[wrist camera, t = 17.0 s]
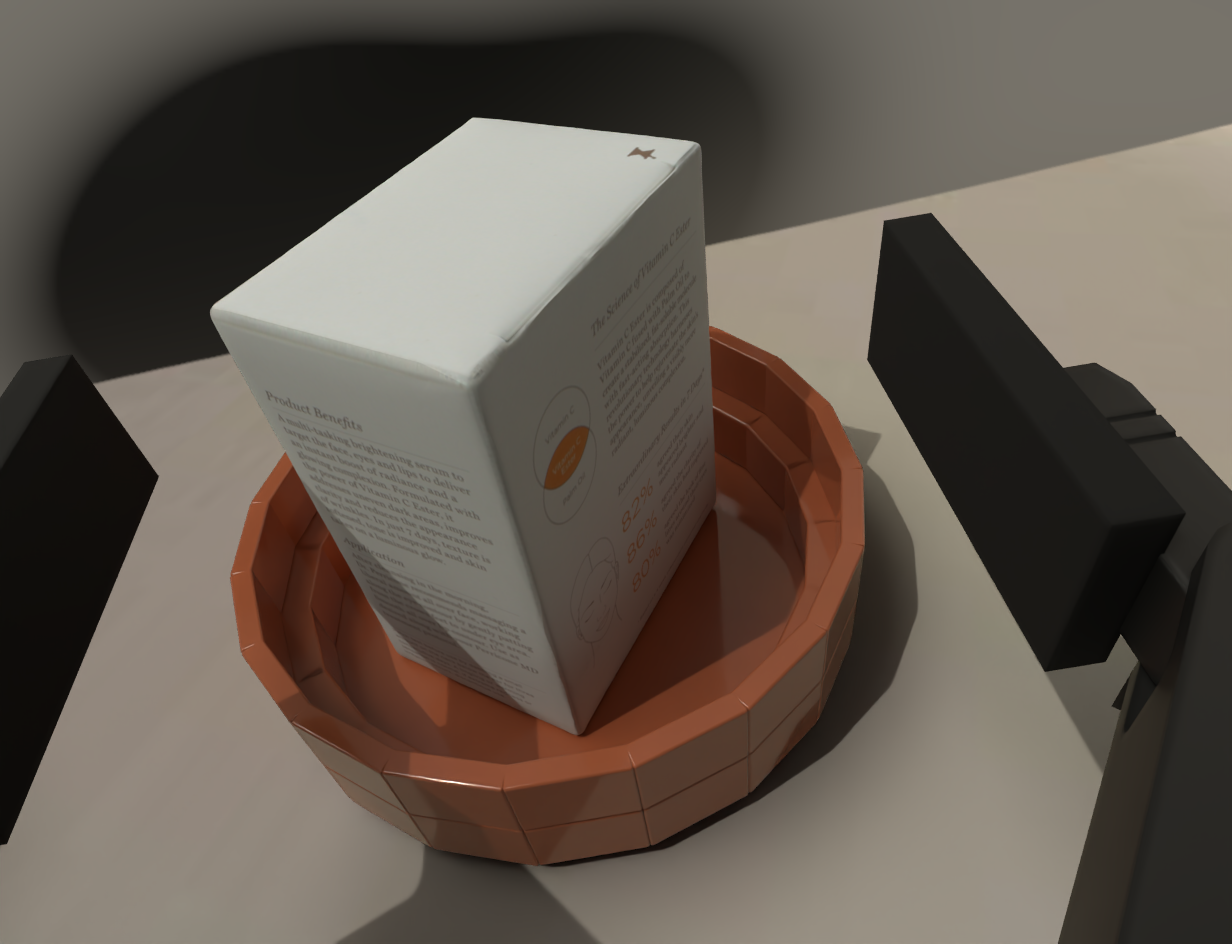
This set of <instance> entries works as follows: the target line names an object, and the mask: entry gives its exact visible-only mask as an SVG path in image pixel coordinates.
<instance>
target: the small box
mask: <svg viewBox="0 0 1232 944" xmlns="http://www.w3.org/2000/svg"><path fill="white" fill-rule="evenodd" d="M701 161H702V154H701V147H700V145H699V144H698V143H695V142H692V141H684V140H676V139H668V138H658V137H652V136H643V135H633V134H625V133H616V132H605V131H595V130H587V129H578V128H570V127H558V126H550V125H541V124H532V123H524V122H515V121H506V120H497V119H483V118H472V119H470V120H469V121H468V122H467V123H466V124H464V125H463V126H462V127H460V128H459V129H457V130H456V131H455V132H453V133H452V134H451V135H449V136H448V137H447V138H445V139H444V140H443V141H441V142H440V143H438V144H437V145H435V146H434V147H433V148H431V149H430V150H428V151H427V152H426V153H424V154H423V155H421V156H420V157H418V158H417V159H416V160H415V161H413V162H412V163H410V164H409V165H408V166H406V167H404V168H403V169H402V170H400V171H399V172H398V173H396V174H395V175H394V176H392V177H391V178H389V179H388V180H387V181H385V182H384V183H382V184H381V185H380V186H378V187H377V188H375V189H374V190H373V191H371V192H370V193H369V194H367V195H366V196H365V197H363V198H362V199H361V200H359V201H358V202H356V203H355V204H353V205H352V206H351V207H349V208H348V209H347V210H345V211H344V212H342V213H341V214H339V215H338V216H336V217H335V218H334V219H332V220H331V221H330V222H328V223H327V224H326V225H325V226H323V227H322V228H321V229H319V230H318V231H316V232H315V233H313V234H312V235H311V236H309V237H308V238H307V239H305V240H304V241H302V242H301V243H299V244H298V245H296V246H295V247H294V248H292V249H291V250H289V251H288V252H287V253H285V254H284V255H283V256H282V257H280V258H279V259H277V260H276V261H275V262H273V263H272V264H270V265H269V266H267V267H266V268H264V269H263V270H262V271H260V272H259V273H257V274H256V275H255V276H253V277H252V278H250V279H249V280H248V281H247V282H245V283H244V284H242V285H241V286H239V287H238V288H237V289H236V290H234V291H233V292H231V293H230V294H229V295H227V296H226V297H224V298H223V299H221V300H219V301H218V302H217V303H215V304H214V305H213V307H212V308H211V310H210V315H211V319H212V321H213V323H214V325H215V326H216V328H217V330H218V332H219V334H220V336H221V338H222V339H223V341H224V343H225V345H226V347H227V349H228V350H229V352H230V354H231V356H232V358H233V359H234V361H235V363H236V365H237V366H238V368H239V370H240V372H241V374H242V375H243V377H244V379H245V381H246V383H247V384H248V386H249V388H250V390H251V392H252V393H253V395H254V397H255V399H256V401H257V402H258V404H259V406H260V408H261V409H262V411H263V413H264V415H265V416H266V418H267V420H268V422H269V424H270V425H271V427H272V429H273V431H274V432H275V434H276V436H277V438H278V439H279V441H280V443H281V445H282V447H283V448H284V450H285V452H286V454H287V456H288V457H289V459H290V461H291V463H292V465H293V466H294V468H295V470H296V472H297V474H298V476H299V478H300V479H301V481H302V483H303V485H304V487H305V489H306V491H307V493H308V494H309V496H310V498H311V500H312V501H313V503H314V505H315V507H316V509H317V511H318V512H319V514H320V516H321V518H322V519H323V521H324V523H325V525H326V526H327V528H328V530H329V531H330V533H331V535H332V537H333V539H334V541H335V542H336V544H337V546H338V548H339V550H340V552H341V553H342V555H343V557H344V559H345V560H346V562H347V564H348V566H349V567H350V569H351V571H352V573H353V575H354V576H355V578H356V580H357V582H358V583H359V585H360V587H361V589H362V591H363V593H364V595H365V597H366V598H367V600H368V602H369V604H370V606H371V607H372V609H373V610H374V612H375V614H376V616H377V618H378V620H379V621H380V623H381V625H382V627H383V628H384V630H385V632H386V634H387V635H388V637H389V639H390V641H391V643H392V644H393V646H394V648H395V650H396V651H397V652H398V653H399V654H400V655H401V656H403V657H405V658H407V659H410V660H412V661H414V662H416V663H419V664H421V665H423V666H425V667H427V668H429V669H432V670H434V671H436V672H438V673H440V674H442V675H444V676H446V677H449V678H451V679H453V680H455V681H457V682H459V683H461V684H464V685H466V686H468V687H470V688H472V689H475V690H477V691H479V692H481V693H483V694H485V695H488V696H490V697H492V698H494V699H496V700H499V701H501V702H503V703H505V704H507V705H509V706H512V707H514V708H516V709H518V710H520V711H523V712H525V713H527V714H529V715H532V716H534V717H536V718H538V719H541V720H543V721H545V722H547V723H550V724H552V725H554V726H557V727H559V728H561V729H563V730H565V731H567V732H569V733H571V734H574V735H580V734H582V733H583V732H584V731H585V729H586V727H587V725H588V723H589V721H590V719H591V717H592V716H593V714H594V712H595V710H596V709H597V707H598V705H599V703H600V701H601V700H602V698H603V696H604V694H605V692H606V691H607V689H608V687H609V686H610V684H611V682H612V681H613V679H614V677H615V675H616V673H617V672H618V670H619V668H620V667H621V665H622V663H623V661H624V660H625V658H626V656H627V655H628V653H629V651H630V650H631V648H632V646H633V644H634V642H635V641H636V639H637V637H638V635H639V634H640V632H641V630H642V628H643V627H644V625H645V623H646V621H647V620H648V618H649V616H650V615H651V613H652V611H653V609H654V608H655V606H656V604H657V603H658V601H659V599H660V597H661V596H662V594H663V592H664V590H665V589H666V587H667V585H668V584H669V582H670V580H671V578H672V577H673V575H674V573H675V571H676V570H677V568H678V566H679V564H680V563H681V561H682V559H683V557H684V556H685V554H686V552H687V550H688V548H689V547H690V545H691V543H692V542H693V540H694V538H695V537H696V535H697V533H698V531H699V530H700V528H701V526H702V524H703V523H704V521H705V519H706V518H707V516H708V514H709V513H710V511H711V509H712V508H713V506H714V504H715V502H716V479H715V446H714V425H713V402H712V380H711V356H710V337H709V315H708V294H707V274H706V257H705V234H704V210H703V187H702V162H701Z"/></svg>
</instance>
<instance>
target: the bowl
mask: <svg viewBox="0 0 1232 944" xmlns="http://www.w3.org/2000/svg"><path fill="white" fill-rule="evenodd" d="M709 337H710V356H711V380H712V402H713V425H714V446H715V479H716V502H715V504H714V506H713V508H712V509H711V511H710V513H709V514H708V516H707V518H706V519H705V521H704V523H703V524H702V526H701V528H700V530H699V531H698V533H697V535H696V537H695V538H694V540H693V542H692V543H691V545H690V547H689V548H688V550H687V552H686V554H685V556H684V557H683V559H682V561H681V563H680V564H679V566H678V568H677V570H676V571H675V573H674V575H673V577H672V578H671V580H670V582H669V584H668V585H667V587H666V589H665V590H664V592H663V594H662V596H661V597H660V599H659V601H658V603H657V604H656V606H655V608H654V609H653V611H652V613H651V615H650V616H649V618H648V620H647V621H646V623H645V625H644V627H643V628H642V630H641V632H640V634H639V635H638V637H637V639H636V641H635V642H634V644H633V646H632V648H631V650H630V651H629V653H628V655H627V656H626V658H625V660H624V661H623V663H622V665H621V667H620V668H619V670H618V672H617V673H616V675H615V677H614V679H613V681H612V682H611V684H610V686H609V687H608V689H607V691H606V692H605V694H604V696H603V698H602V700H601V701H600V703H599V705H598V707H597V709H596V710H595V712H594V714H593V716H592V717H591V719H590V721H589V723H588V725H587V727H586V729H585V731H584V732H583V733H582V734H580V735H574V734H571V733H569V732H567V731H565V730H563V729H561V728H559V727H557V726H554V725H552V724H550V723H547V722H545V721H543V720H541V719H538V718H536V717H534V716H532V715H529V714H527V713H525V712H523V711H520V710H518V709H516V708H514V707H512V706H509V705H507V704H505V703H503V702H501V701H499V700H496V699H494V698H492V697H490V696H488V695H485V694H483V693H481V692H479V691H477V690H475V689H472V688H470V687H468V686H466V685H464V684H461V683H459V682H457V681H455V680H453V679H451V678H449V677H446V676H444V675H442V674H440V673H438V672H436V671H434V670H432V669H429V668H427V667H425V666H423V665H421V664H419V663H416V662H414V661H412V660H410V659H407V658H405V657H403V656H401V655H400V654H399V653H398V652H397V651H396V650H395V648H394V646H393V644H392V643H391V641H390V639H389V637H388V635H387V634H386V632H385V630H384V628H383V627H382V625H381V623H380V621H379V620H378V618H377V616H376V614H375V612H374V610H373V609H372V607H371V606H370V604H369V602H368V600H367V598H366V597H365V595H364V593H363V591H362V589H361V587H360V585H359V583H358V582H357V580H356V578H355V576H354V575H353V573H352V571H351V569H350V567H349V566H348V564H347V562H346V560H345V559H344V557H343V555H342V553H341V552H340V550H339V548H338V546H337V544H336V542H335V541H334V539H333V537H332V535H331V533H330V531H329V530H328V528H327V526H326V525H325V523H324V521H323V519H322V518H321V516H320V514H319V512H318V511H317V509H316V507H315V505H314V503H313V501H312V500H311V498H310V496H309V494H308V493H307V491H306V489H305V487H304V485H303V483H302V481H301V479H300V478H299V476H298V474H297V472H296V470H295V468H294V466H293V465H292V463H291V461H290V459H289V457H288V456H287V454H286V452H285V453H284V455H283V456H282V458H281V459H280V460H279V462H278V463H277V465H276V466H275V468H274V469H273V471H272V472H271V474H270V475H269V477H268V478H267V480H266V481H265V483H264V484H263V485H262V487H261V488H260V490H259V491H258V493H257V494H256V496H255V497H254V499H253V500H252V502H251V504H250V506H249V510H248V514H247V517H246V521H245V524H244V528H243V531H242V535H241V539H240V542H239V546H238V549H237V553H236V556H235V560H234V564H233V567H232V571H231V577H230V580H231V587H232V594H233V601H234V608H235V615H236V622H237V629H238V636H239V643H240V650H241V653H242V656H243V657H244V659H245V660H246V662H247V663H248V664H249V666H250V667H251V669H252V670H253V671H254V673H255V674H256V676H257V677H258V679H259V680H260V681H261V683H262V684H263V686H264V687H265V688H266V690H267V691H268V693H269V694H270V695H271V697H272V698H273V700H274V701H275V703H276V704H277V705H278V707H279V708H280V710H281V711H282V712H283V714H284V715H285V717H286V718H287V720H288V721H289V722H290V724H291V725H292V726H293V727H294V729H295V730H296V731H297V732H298V734H299V735H300V736H301V738H302V739H303V740H304V741H305V743H306V744H307V745H308V746H309V748H310V749H311V750H312V751H313V753H314V754H315V755H316V757H317V758H318V759H319V760H320V762H321V763H322V764H323V765H324V767H325V768H326V769H327V770H328V772H329V773H330V774H331V775H332V777H333V778H334V779H335V781H336V782H337V783H338V784H339V786H340V787H341V788H342V789H343V791H344V792H345V793H346V794H347V796H348V797H349V798H351V799H352V801H353V802H355V803H356V804H358V805H360V806H362V807H363V808H365V809H367V810H368V811H370V812H372V813H373V814H375V815H377V816H378V817H380V818H382V819H383V820H385V821H387V822H389V823H390V824H392V825H394V826H395V827H397V828H399V829H400V830H402V831H404V832H405V833H407V834H409V835H410V836H412V837H414V838H416V839H417V840H419V841H421V842H422V843H424V844H426V845H427V846H429V847H433V848H434V849H437V850H443V851H449V852H455V853H461V854H467V855H473V856H479V857H485V858H491V859H497V860H503V861H510V862H516V863H522V864H528V865H534V866H538V865H539V864H540V865H545V864H551V863H557V862H563V861H568V860H574V859H580V858H586V857H592V856H597V855H603V854H609V853H615V852H621V851H626V850H632V849H638V848H644V847H648V846H650V844H651V845H655V844H657V843H659V842H660V841H662V840H664V839H666V838H668V837H670V836H672V835H674V834H676V833H677V832H679V831H681V830H683V829H685V828H687V827H689V826H691V825H692V824H694V823H696V822H698V821H700V820H702V819H704V818H706V817H707V816H709V815H711V814H713V813H715V812H717V811H719V810H721V809H723V808H724V807H726V806H728V805H730V804H732V803H734V802H736V801H738V800H739V799H741V798H743V797H745V796H747V795H748V792H749V793H750V792H752V791H753V790H754V789H755V788H756V787H757V786H758V785H759V784H760V783H761V781H762V780H763V779H764V778H765V777H766V776H767V775H768V774H769V773H770V772H771V771H772V770H773V769H774V767H775V766H776V765H777V764H778V763H779V762H780V761H781V760H782V759H783V758H784V757H785V756H786V755H787V754H788V752H789V751H790V750H791V749H792V748H793V747H794V746H795V745H796V744H797V743H798V742H799V741H800V740H801V739H802V737H803V736H804V735H805V734H806V733H807V732H808V731H809V730H810V729H811V728H812V727H813V726H814V725H815V724H816V722H817V719H819V718H820V716H821V713H822V711H823V708H824V706H825V703H826V701H827V699H828V696H829V694H830V691H831V689H832V686H833V684H834V681H835V679H836V677H837V674H838V672H839V669H840V667H841V664H842V662H843V659H844V657H845V654H846V652H847V650H848V647H849V645H850V642H851V637H852V632H853V625H854V618H855V611H856V604H857V597H858V591H859V584H860V577H861V570H862V564H863V557H864V550H865V515H864V471H863V468H862V466H861V464H860V462H859V460H858V458H857V456H856V454H855V452H854V449H853V447H852V445H851V443H850V441H849V439H848V437H847V435H846V433H845V431H844V429H843V427H842V425H841V423H840V421H839V419H838V417H837V415H836V413H835V411H834V409H833V407H832V406H831V404H830V403H829V402H828V401H827V400H826V399H825V398H824V397H822V396H821V395H820V394H819V393H818V392H817V391H816V390H815V389H814V388H813V387H811V386H810V385H809V384H808V383H807V382H806V381H805V380H804V379H803V378H802V377H800V376H799V375H798V374H797V373H796V372H795V371H794V370H793V369H792V368H791V367H789V366H788V365H787V364H786V363H785V362H784V361H783V360H782V359H779V357H777V356H775V355H773V354H771V353H769V352H766V351H764V350H762V349H760V348H758V347H756V346H754V345H752V344H750V343H747V342H745V341H743V340H741V339H739V338H737V337H735V336H733V335H731V334H728V333H726V332H724V331H722V330H720V329H718V328H715V327H712V326H709Z"/></svg>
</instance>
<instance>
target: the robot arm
mask: <svg viewBox="0 0 1232 944" xmlns="http://www.w3.org/2000/svg"><path fill="white" fill-rule="evenodd" d="M867 360H868V362H869V364H870V365H871V367H872V369H873V371H874V372H875V374H876V376H877V378H878V379H879V381H880V383H881V385H882V386H883V388H884V390H885V392H886V393H887V395H888V397H889V399H890V400H891V402H892V404H893V406H894V407H895V409H896V411H897V413H898V414H899V416H900V418H901V420H902V421H903V423H904V425H905V427H906V429H907V430H908V432H909V434H910V436H911V437H912V439H913V441H914V443H915V444H916V446H917V448H918V450H919V451H920V453H921V455H922V457H923V458H924V460H925V462H926V464H927V465H928V467H929V469H930V471H931V472H932V474H933V476H934V478H935V479H936V481H937V483H938V485H939V486H940V488H941V490H942V492H943V494H944V495H945V497H946V499H947V501H948V502H949V504H950V506H951V508H952V509H953V511H954V513H955V515H956V516H957V518H958V520H959V522H960V523H961V525H962V527H963V529H964V530H965V532H966V534H967V536H968V537H969V539H970V541H971V543H972V544H973V546H974V548H975V550H976V552H977V553H978V555H979V557H980V559H981V560H982V562H983V564H984V566H985V567H986V569H987V571H988V573H989V574H990V576H991V578H992V580H993V581H994V583H995V585H996V587H997V588H998V590H999V592H1000V594H1001V595H1002V597H1003V599H1004V601H1005V602H1006V604H1007V606H1008V608H1009V609H1010V611H1011V613H1012V615H1013V617H1014V618H1015V620H1016V622H1017V624H1018V625H1019V627H1020V629H1021V631H1022V632H1023V634H1024V636H1025V638H1026V639H1027V641H1028V643H1029V645H1030V646H1031V648H1032V650H1033V652H1034V653H1035V655H1036V657H1037V659H1038V660H1039V662H1040V664H1041V666H1042V667H1043V669H1044V671H1045V672H1047V671H1053V670H1059V669H1065V668H1071V667H1077V666H1083V665H1090V664H1096V663H1102V662H1106V660H1107V658H1108V656H1109V654H1110V653H1111V651H1112V649H1113V647H1114V645H1115V643H1116V642H1117V640H1118V638H1119V636H1120V634H1121V635H1122V636H1123V638H1124V639H1125V641H1126V642H1127V644H1128V645H1129V647H1130V648H1131V650H1132V651H1133V653H1134V654H1135V656H1136V657H1137V659H1138V660H1139V661H1138V662H1137V664H1136V666H1135V667H1134V669H1133V671H1132V673H1131V674H1130V676H1129V678H1128V679H1127V681H1126V683H1125V684H1124V686H1123V688H1122V689H1121V691H1120V693H1119V694H1118V696H1117V698H1116V699H1115V701H1114V703H1113V705H1112V707H1115V708H1117V709H1119V710H1121V712H1120V715H1119V719H1118V723H1117V726H1116V730H1115V734H1114V738H1113V741H1112V745H1111V749H1110V752H1109V756H1108V760H1107V764H1106V767H1105V771H1104V775H1103V778H1102V782H1101V786H1100V789H1099V793H1098V797H1097V801H1096V804H1095V808H1094V812H1093V815H1092V819H1091V823H1090V826H1089V830H1088V834H1087V838H1086V841H1085V845H1084V849H1083V852H1082V856H1081V860H1080V864H1079V867H1078V871H1077V875H1076V878H1075V882H1074V886H1073V889H1072V893H1071V897H1070V901H1069V904H1068V908H1067V912H1066V915H1065V919H1064V923H1063V927H1062V930H1061V934H1060V938H1059V941H1058V944H1232V491H1231V490H1230V489H1229V488H1228V486H1227V485H1226V484H1225V483H1224V482H1223V481H1222V480H1221V479H1220V478H1219V477H1218V476H1217V475H1216V474H1215V473H1214V471H1213V470H1212V469H1211V468H1210V467H1209V466H1208V465H1207V464H1206V463H1205V462H1204V461H1203V460H1202V459H1201V457H1200V456H1199V455H1198V454H1197V453H1196V452H1195V451H1194V450H1193V449H1192V448H1191V447H1190V446H1189V445H1188V443H1187V442H1186V441H1185V440H1184V439H1183V438H1182V437H1181V436H1180V437H1177V436H1176V433H1175V432H1176V431H1175V429H1174V428H1173V427H1172V426H1171V425H1170V424H1169V423H1168V422H1167V421H1166V420H1165V419H1164V418H1163V417H1162V416H1161V415H1157V414H1156V409H1155V408H1154V407H1153V406H1152V405H1151V404H1150V403H1149V402H1148V400H1147V399H1146V398H1145V397H1144V396H1143V395H1142V394H1141V393H1140V392H1139V391H1138V390H1137V389H1136V388H1135V386H1134V385H1133V384H1132V383H1130V382H1128V381H1127V380H1125V379H1123V378H1121V377H1120V376H1118V375H1116V374H1114V373H1113V372H1111V371H1109V370H1107V369H1105V368H1104V367H1102V366H1100V365H1098V364H1097V363H1090V364H1084V365H1078V366H1072V367H1066V368H1063V367H1062V366H1061V365H1060V364H1059V363H1058V361H1057V360H1056V359H1055V358H1054V357H1053V355H1052V354H1051V353H1050V352H1049V351H1048V350H1047V348H1046V347H1045V346H1044V345H1043V344H1042V343H1041V341H1040V340H1039V339H1038V338H1037V337H1036V335H1035V334H1034V333H1033V332H1032V331H1031V330H1030V328H1029V327H1028V326H1027V325H1026V324H1025V323H1024V321H1023V320H1022V319H1021V318H1020V317H1019V315H1018V314H1017V313H1016V312H1015V311H1014V310H1013V308H1012V307H1011V306H1010V305H1009V304H1008V303H1007V301H1006V300H1005V299H1004V298H1003V297H1002V296H1001V294H1000V293H999V292H998V291H997V290H996V288H995V287H994V286H993V285H992V284H991V283H990V281H989V280H988V279H987V278H986V277H985V276H984V274H983V273H982V272H981V271H980V270H979V268H978V267H977V266H976V265H975V264H974V263H973V261H972V260H971V259H970V258H969V257H968V256H967V254H966V253H965V252H964V251H963V250H962V248H961V247H960V246H959V245H958V244H957V243H956V241H955V240H954V239H953V238H952V237H951V236H950V234H949V233H948V232H947V231H946V230H945V228H944V227H943V226H942V225H941V224H940V223H939V221H938V220H937V219H936V218H935V217H934V216H933V214H932V213H928V214H922V215H916V216H910V217H904V218H898V219H892V220H886V221H884V225H883V234H882V242H881V250H880V258H879V267H878V275H877V283H876V292H875V300H874V308H873V317H872V325H871V333H870V342H869V350H868V358H867ZM158 477H159V476H158V475H157V473H156V472H155V470H154V469H153V468H152V466H151V465H150V463H149V462H148V461H147V459H146V458H145V456H144V455H143V454H142V452H141V451H140V449H139V448H138V447H137V445H136V444H135V442H134V441H133V440H132V438H131V437H130V435H129V434H128V433H127V431H126V430H125V428H124V427H123V426H122V424H121V423H120V421H119V420H118V418H117V417H116V416H115V414H114V413H113V411H112V410H111V409H110V407H109V406H108V404H107V403H106V402H105V400H104V399H103V397H102V396H101V395H100V393H99V392H98V390H97V389H96V388H95V386H94V385H93V383H92V382H91V381H90V379H89V378H88V376H87V375H86V374H85V372H84V371H83V369H82V368H81V367H80V365H79V364H78V363H77V361H76V360H75V358H74V357H73V355H66V356H60V357H54V358H48V359H42V360H36V361H30V362H25V363H24V364H23V365H22V367H21V368H20V370H19V371H18V372H17V374H16V375H15V377H14V378H13V380H12V381H11V383H10V384H9V386H8V387H7V389H6V390H5V392H4V393H3V394H2V396H1V397H0V845H3V844H7V842H8V840H9V838H10V835H11V833H12V830H13V828H14V826H15V823H16V821H17V818H18V816H19V813H20V811H21V809H22V806H23V804H24V801H25V799H26V797H27V794H28V792H29V789H30V787H31V784H32V782H33V780H34V777H35V775H36V772H37V770H38V768H39V765H40V763H41V760H42V758H43V755H44V753H45V751H46V748H47V746H48V743H49V741H50V739H51V736H52V734H53V731H54V729H55V726H56V724H57V722H58V719H59V717H60V714H61V712H62V710H63V707H64V705H65V702H66V700H67V697H68V695H69V693H70V690H71V688H72V685H73V683H74V681H75V678H76V676H77V673H78V671H79V668H80V666H81V664H82V661H83V659H84V656H85V654H86V652H87V649H88V647H89V644H90V642H91V639H92V637H93V635H94V632H95V630H96V627H97V625H98V623H99V620H100V618H101V615H102V613H103V610H104V608H105V606H106V603H107V601H108V598H109V596H110V594H111V591H112V589H113V586H114V584H115V581H116V579H117V577H118V574H119V572H120V569H121V567H122V564H123V562H124V560H125V557H126V555H127V552H128V550H129V548H130V545H131V543H132V540H133V538H134V535H135V533H136V531H137V528H138V526H139V523H140V521H141V519H142V516H143V514H144V511H145V509H146V506H147V504H148V502H149V499H150V497H151V494H152V492H153V490H154V487H155V485H156V482H157V480H158Z"/></svg>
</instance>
